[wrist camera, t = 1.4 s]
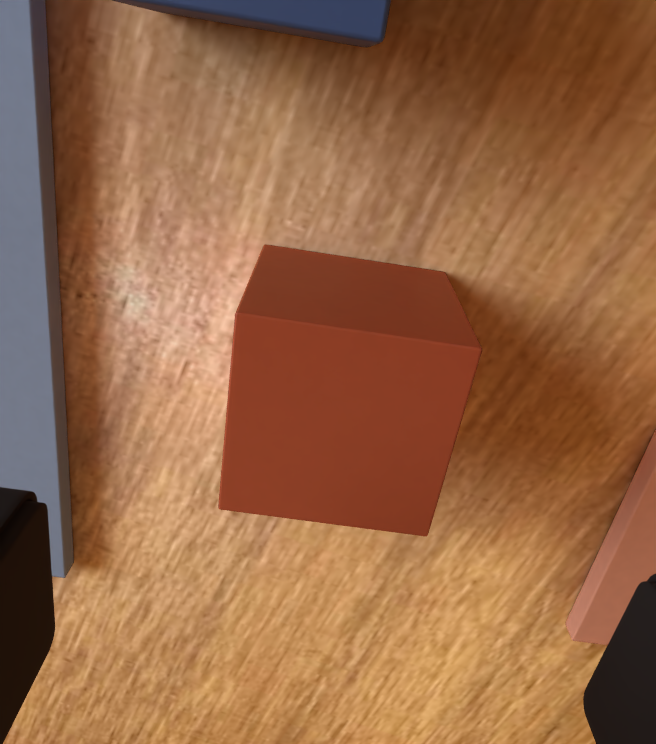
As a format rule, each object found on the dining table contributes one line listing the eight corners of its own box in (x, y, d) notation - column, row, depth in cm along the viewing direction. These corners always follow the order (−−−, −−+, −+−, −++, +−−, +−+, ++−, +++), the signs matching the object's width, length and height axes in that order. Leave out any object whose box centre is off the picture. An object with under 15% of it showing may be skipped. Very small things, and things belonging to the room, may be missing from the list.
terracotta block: (263, 243, 17) (234, 312, 12) (446, 271, 17) (483, 349, 12) (247, 403, 19) (217, 510, 14) (407, 425, 19) (427, 538, 15)
